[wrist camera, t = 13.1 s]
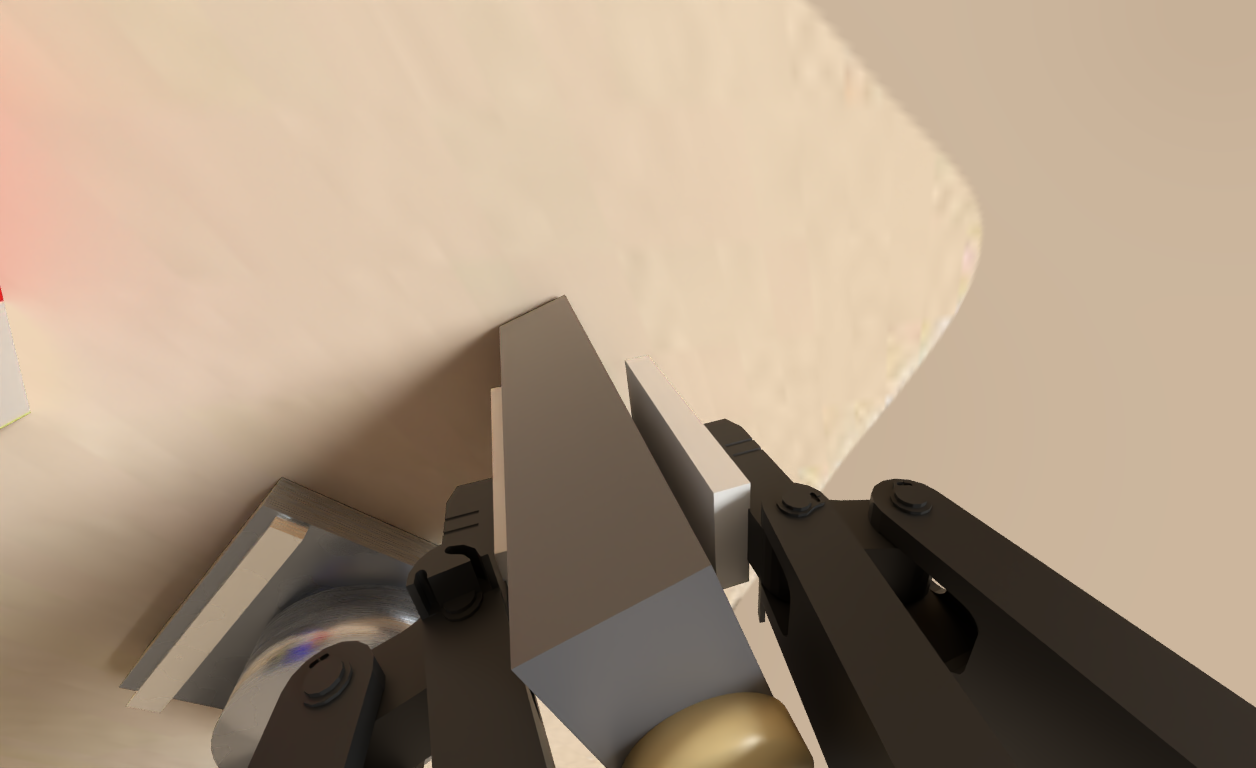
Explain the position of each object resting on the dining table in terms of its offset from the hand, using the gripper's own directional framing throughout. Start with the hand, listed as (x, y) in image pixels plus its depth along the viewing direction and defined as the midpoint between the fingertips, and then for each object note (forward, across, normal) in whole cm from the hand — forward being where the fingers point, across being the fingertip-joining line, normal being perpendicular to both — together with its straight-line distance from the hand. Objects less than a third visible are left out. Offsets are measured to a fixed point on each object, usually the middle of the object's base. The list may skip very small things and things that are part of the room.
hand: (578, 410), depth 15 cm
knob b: (+3, 0, -1) cm, 3 cm away
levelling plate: (+3, -10, -9) cm, 14 cm away
